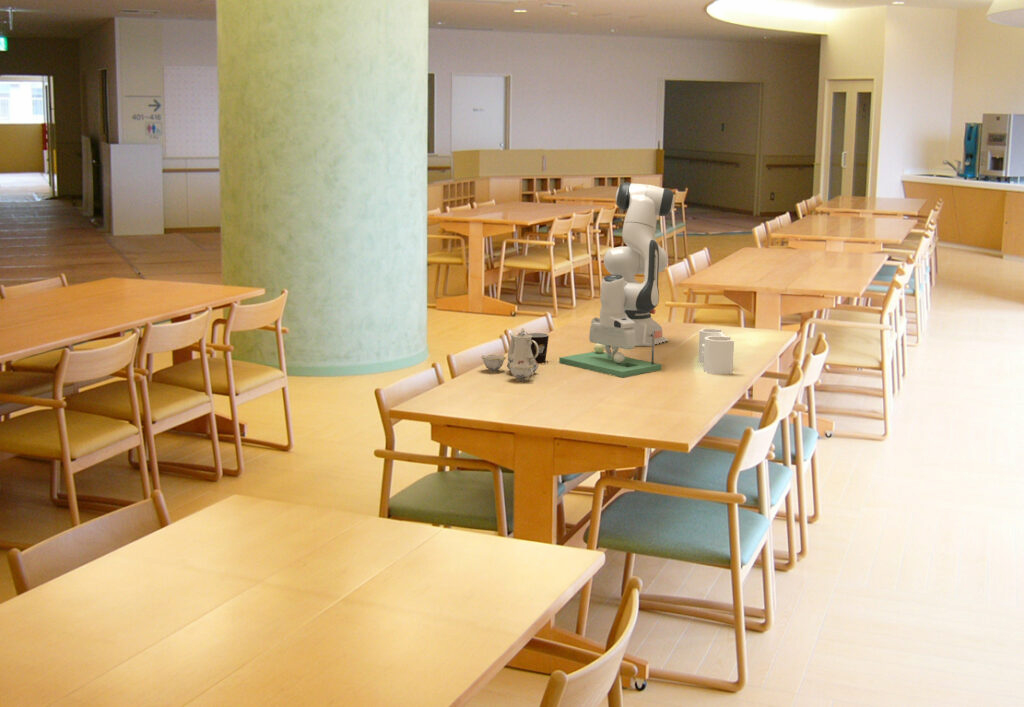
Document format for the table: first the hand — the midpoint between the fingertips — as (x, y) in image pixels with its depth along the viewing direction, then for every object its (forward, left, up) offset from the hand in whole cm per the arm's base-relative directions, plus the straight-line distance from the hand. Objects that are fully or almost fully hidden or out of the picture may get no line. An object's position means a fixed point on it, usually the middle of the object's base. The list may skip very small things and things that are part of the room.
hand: (611, 358), depth 401 cm
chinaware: (+35, -12, -4) cm, 37 cm away
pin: (-10, +13, -1) cm, 16 cm away
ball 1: (-8, -14, +1) cm, 16 cm away
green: (0, -1, -3) cm, 3 cm away
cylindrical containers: (-29, +24, -4) cm, 37 cm away
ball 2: (0, +4, +1) cm, 4 cm away
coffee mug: (+16, -25, -4) cm, 30 cm away
